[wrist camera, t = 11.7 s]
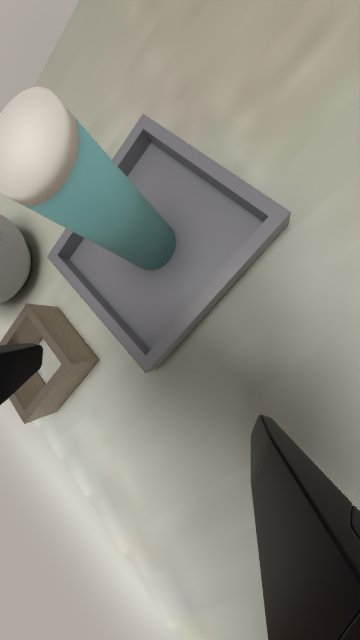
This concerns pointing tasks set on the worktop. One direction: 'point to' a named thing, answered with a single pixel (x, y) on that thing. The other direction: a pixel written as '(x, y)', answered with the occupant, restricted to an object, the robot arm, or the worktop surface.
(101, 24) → the worktop surface
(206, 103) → the worktop surface
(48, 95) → the canister
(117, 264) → the tray
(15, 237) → the teacup
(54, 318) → the square metallic frame
